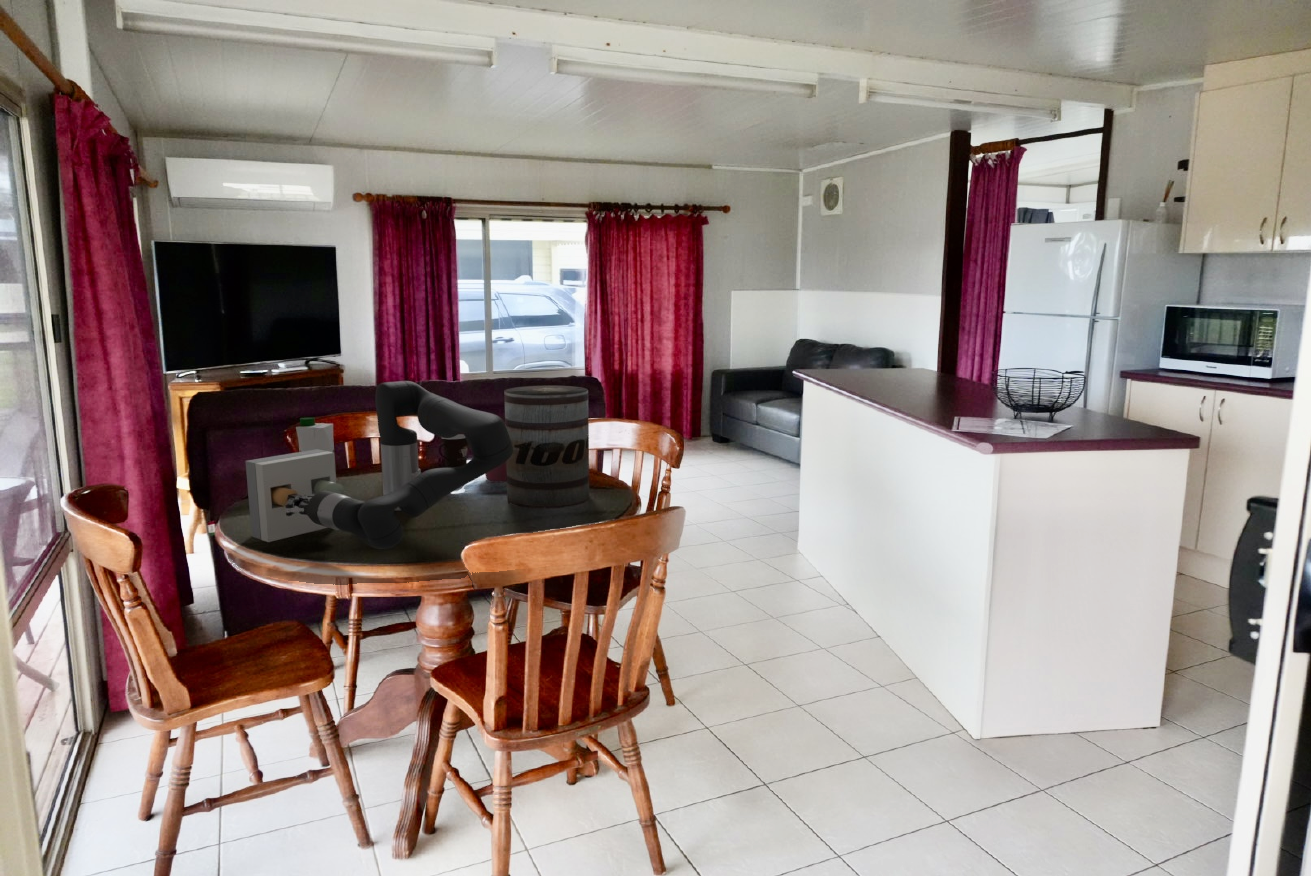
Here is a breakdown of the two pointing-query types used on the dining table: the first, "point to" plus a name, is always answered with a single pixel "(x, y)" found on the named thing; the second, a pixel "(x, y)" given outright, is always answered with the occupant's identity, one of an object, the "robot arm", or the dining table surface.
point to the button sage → (328, 487)
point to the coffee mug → (454, 451)
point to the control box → (291, 474)
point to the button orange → (280, 495)
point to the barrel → (547, 446)
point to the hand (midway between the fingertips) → (290, 498)
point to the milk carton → (315, 435)
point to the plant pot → (498, 474)
